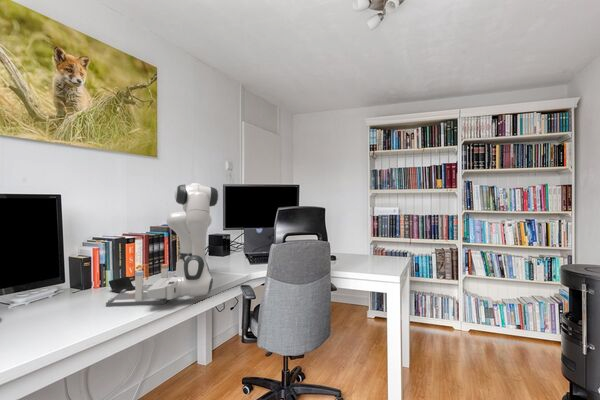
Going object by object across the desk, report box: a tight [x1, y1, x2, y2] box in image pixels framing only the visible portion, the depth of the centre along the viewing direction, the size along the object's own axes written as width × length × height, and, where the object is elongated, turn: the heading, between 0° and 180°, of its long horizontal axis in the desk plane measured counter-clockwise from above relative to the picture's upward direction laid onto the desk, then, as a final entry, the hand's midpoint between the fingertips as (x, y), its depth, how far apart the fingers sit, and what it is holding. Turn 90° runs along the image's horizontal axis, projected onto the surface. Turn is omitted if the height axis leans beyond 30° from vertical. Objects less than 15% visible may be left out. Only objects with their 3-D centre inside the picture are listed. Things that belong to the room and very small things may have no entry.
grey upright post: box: [160, 263, 169, 279], centre depth 157 cm, size 3×3×13 cm
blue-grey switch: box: [134, 270, 145, 301], centre depth 142 cm, size 3×3×13 cm
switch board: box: [105, 289, 168, 308], centre depth 148 cm, size 18×24×2 cm
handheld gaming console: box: [108, 276, 135, 295], centre depth 163 cm, size 12×7×10 cm
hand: (142, 287), depth 142 cm, fingers closed, pressing on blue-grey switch
